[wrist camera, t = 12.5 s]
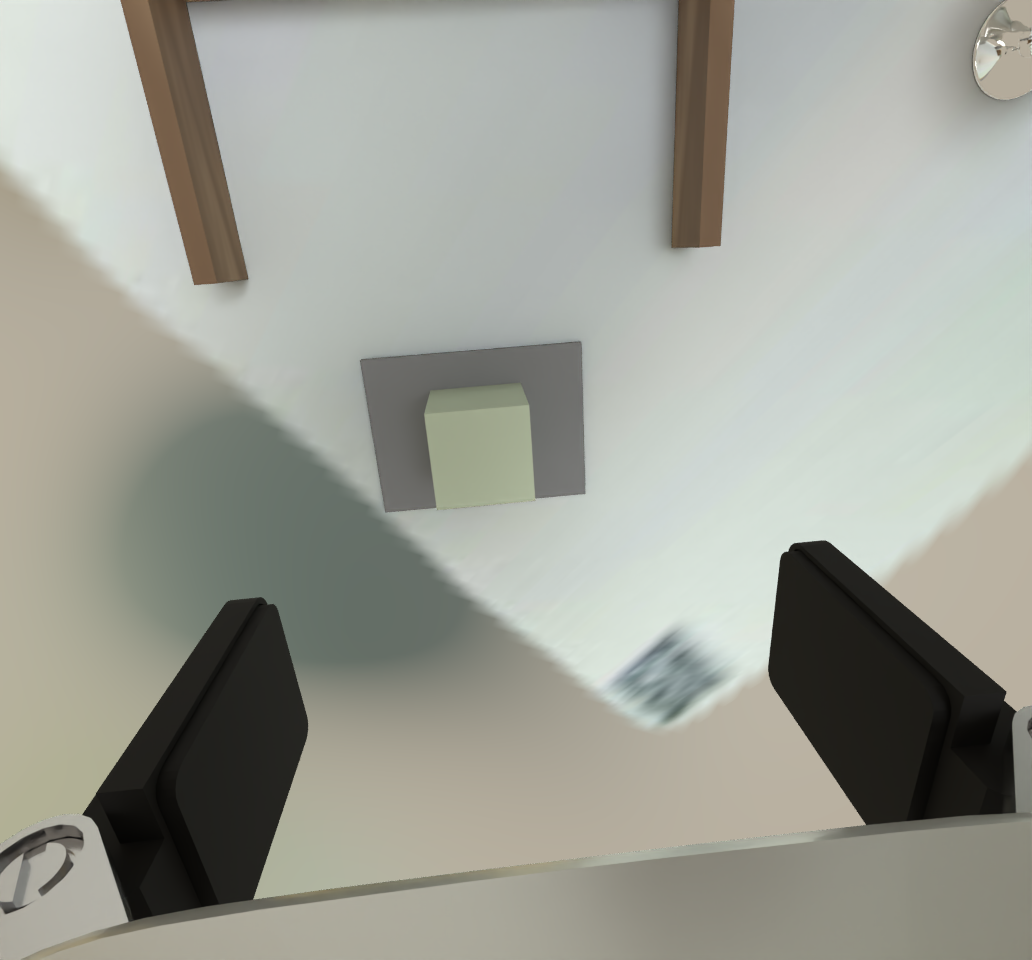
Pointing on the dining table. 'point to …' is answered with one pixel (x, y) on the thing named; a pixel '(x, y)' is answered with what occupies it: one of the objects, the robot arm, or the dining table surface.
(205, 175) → the open wooden frame
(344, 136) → the dining table surface
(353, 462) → the dining table surface
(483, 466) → the sage block
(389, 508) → the grey mat
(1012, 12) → the wineglass
